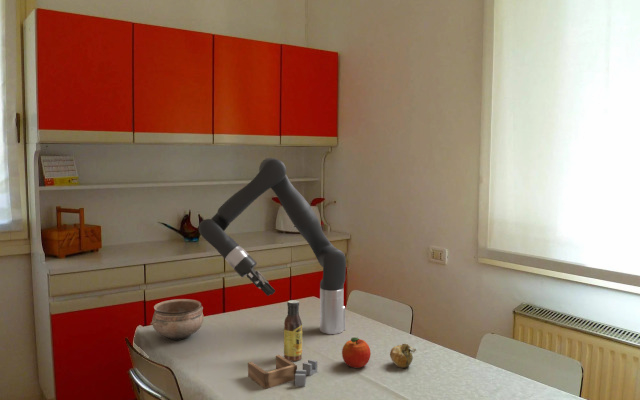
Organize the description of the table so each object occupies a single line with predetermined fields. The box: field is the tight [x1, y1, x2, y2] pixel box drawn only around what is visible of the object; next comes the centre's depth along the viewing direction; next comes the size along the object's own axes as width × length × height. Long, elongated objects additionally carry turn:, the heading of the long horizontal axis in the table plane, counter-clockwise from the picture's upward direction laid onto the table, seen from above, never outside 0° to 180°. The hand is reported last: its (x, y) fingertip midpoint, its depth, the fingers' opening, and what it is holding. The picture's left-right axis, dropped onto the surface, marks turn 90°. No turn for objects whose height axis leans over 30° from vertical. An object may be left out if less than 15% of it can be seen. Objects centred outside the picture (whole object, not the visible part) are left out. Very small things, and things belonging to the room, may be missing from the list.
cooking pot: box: [150, 298, 205, 341], centre depth 204 cm, size 25×19×12 cm
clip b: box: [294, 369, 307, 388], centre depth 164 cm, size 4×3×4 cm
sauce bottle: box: [283, 299, 303, 362], centre depth 183 cm, size 6×6×20 cm
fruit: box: [341, 336, 372, 369], centre depth 178 cm, size 10×10×10 cm
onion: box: [389, 343, 417, 369], centre depth 178 cm, size 8×8×8 cm
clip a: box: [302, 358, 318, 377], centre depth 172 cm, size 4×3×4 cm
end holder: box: [247, 354, 298, 390], centre depth 168 cm, size 11×11×4 cm
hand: (272, 293), depth 192 cm, fingers open, 8 cm apart
